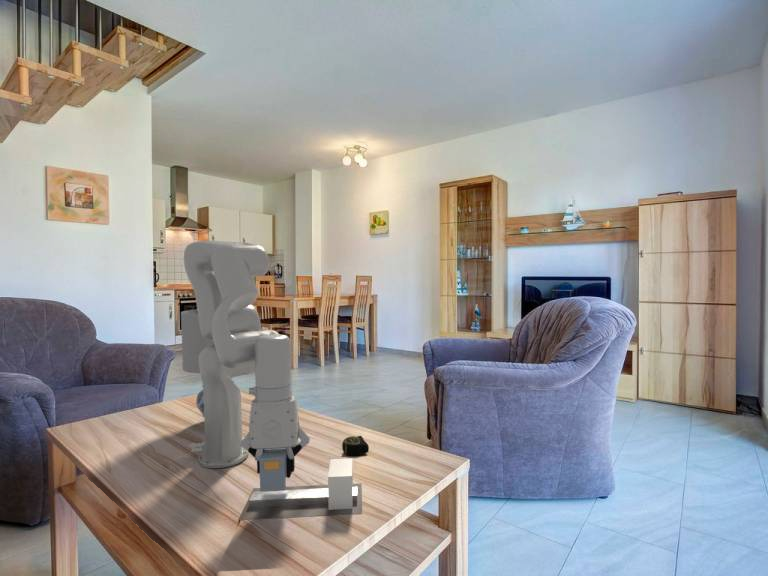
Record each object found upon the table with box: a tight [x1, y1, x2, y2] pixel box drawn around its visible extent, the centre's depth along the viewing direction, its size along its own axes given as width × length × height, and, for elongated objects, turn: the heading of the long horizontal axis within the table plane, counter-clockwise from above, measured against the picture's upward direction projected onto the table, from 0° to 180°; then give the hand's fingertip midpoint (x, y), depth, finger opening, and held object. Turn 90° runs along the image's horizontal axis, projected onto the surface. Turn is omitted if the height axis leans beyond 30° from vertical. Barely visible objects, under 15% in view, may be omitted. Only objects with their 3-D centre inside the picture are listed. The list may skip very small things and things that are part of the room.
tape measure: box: [341, 435, 370, 457], centre depth 114 cm, size 7×7×4 cm
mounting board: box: [237, 482, 363, 525], centre depth 89 cm, size 25×12×1 cm, turn 94°
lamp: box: [180, 309, 235, 424], centre depth 139 cm, size 22×22×38 cm
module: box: [259, 448, 288, 492], centre depth 88 cm, size 5×8×7 cm, turn 4°
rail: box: [248, 487, 357, 507], centre depth 89 cm, size 23×4×2 cm, turn 94°
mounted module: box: [327, 458, 354, 510], centre depth 89 cm, size 5×8×7 cm, turn 4°
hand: (276, 474), depth 88 cm, fingers closed on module, 5 cm apart
